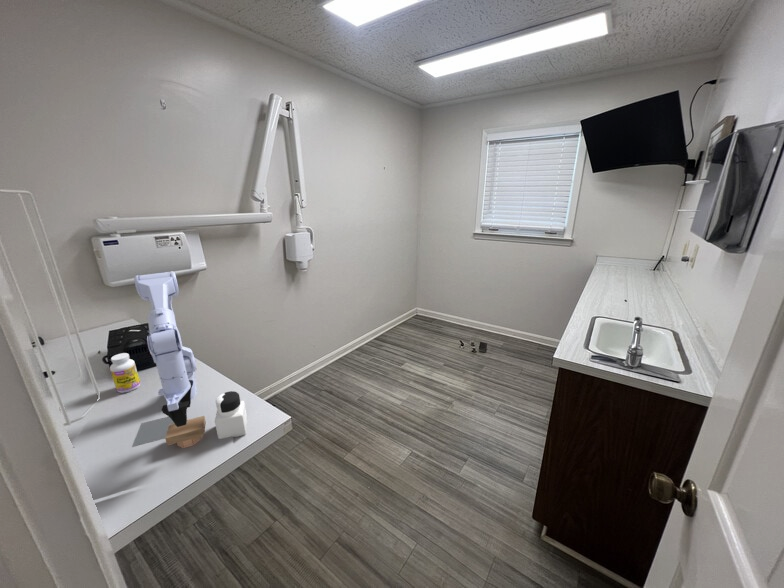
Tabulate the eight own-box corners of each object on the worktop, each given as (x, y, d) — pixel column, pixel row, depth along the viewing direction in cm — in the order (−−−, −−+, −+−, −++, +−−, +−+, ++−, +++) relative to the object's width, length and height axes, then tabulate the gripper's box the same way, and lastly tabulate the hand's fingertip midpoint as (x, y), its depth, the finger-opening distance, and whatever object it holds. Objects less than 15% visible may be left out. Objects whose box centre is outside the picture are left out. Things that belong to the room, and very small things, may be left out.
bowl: (180, 437, 89) (178, 429, 88) (202, 431, 91) (200, 423, 90) (177, 452, 84) (174, 443, 83) (200, 445, 86) (198, 436, 85)
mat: (142, 425, 93) (141, 423, 93) (181, 415, 97) (180, 413, 97) (132, 449, 85) (131, 446, 84) (175, 437, 89) (175, 435, 88)
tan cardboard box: (171, 431, 87) (169, 424, 86) (205, 422, 90) (204, 415, 90) (167, 445, 82) (165, 438, 81) (204, 435, 86) (202, 428, 85)
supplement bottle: (116, 396, 106) (106, 363, 102) (117, 386, 111) (107, 355, 107) (141, 388, 110) (132, 357, 106) (140, 380, 115) (131, 349, 111)
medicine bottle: (247, 418, 96) (241, 386, 92) (246, 435, 90) (240, 400, 86) (221, 424, 94) (214, 391, 90) (218, 441, 87) (211, 406, 84)
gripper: (160, 362, 85) (171, 403, 89) (147, 393, 72) (160, 439, 77) (190, 357, 88) (199, 397, 92) (182, 385, 75) (193, 430, 80)
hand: (184, 415), depth 85 cm, fingers open, 7 cm apart
